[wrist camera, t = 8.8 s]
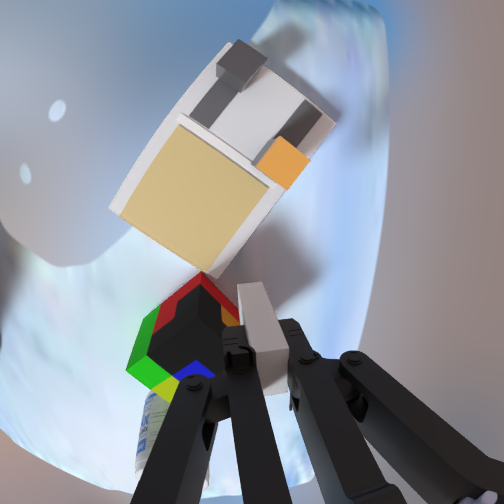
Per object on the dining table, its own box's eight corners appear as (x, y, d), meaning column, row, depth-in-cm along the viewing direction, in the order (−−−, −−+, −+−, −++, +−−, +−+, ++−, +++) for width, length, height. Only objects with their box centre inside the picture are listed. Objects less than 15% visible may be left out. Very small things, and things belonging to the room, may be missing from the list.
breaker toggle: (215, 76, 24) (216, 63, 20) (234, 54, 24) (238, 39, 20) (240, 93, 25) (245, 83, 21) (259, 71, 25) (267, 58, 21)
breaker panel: (114, 204, 30) (107, 208, 28) (227, 48, 26) (228, 41, 24) (216, 272, 34) (217, 280, 32) (329, 124, 30) (337, 123, 28)
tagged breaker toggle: (248, 164, 28) (256, 166, 23) (268, 138, 27) (280, 135, 22) (274, 183, 29) (287, 190, 24) (294, 158, 28) (310, 160, 23)
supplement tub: (139, 381, 38) (121, 463, 24) (202, 380, 39) (202, 466, 25) (155, 421, 41) (146, 494, 28) (211, 419, 42) (215, 495, 28)
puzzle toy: (254, 325, 37) (267, 379, 28) (197, 365, 38) (196, 420, 29) (201, 270, 34) (197, 317, 24) (143, 318, 35) (125, 370, 25)
